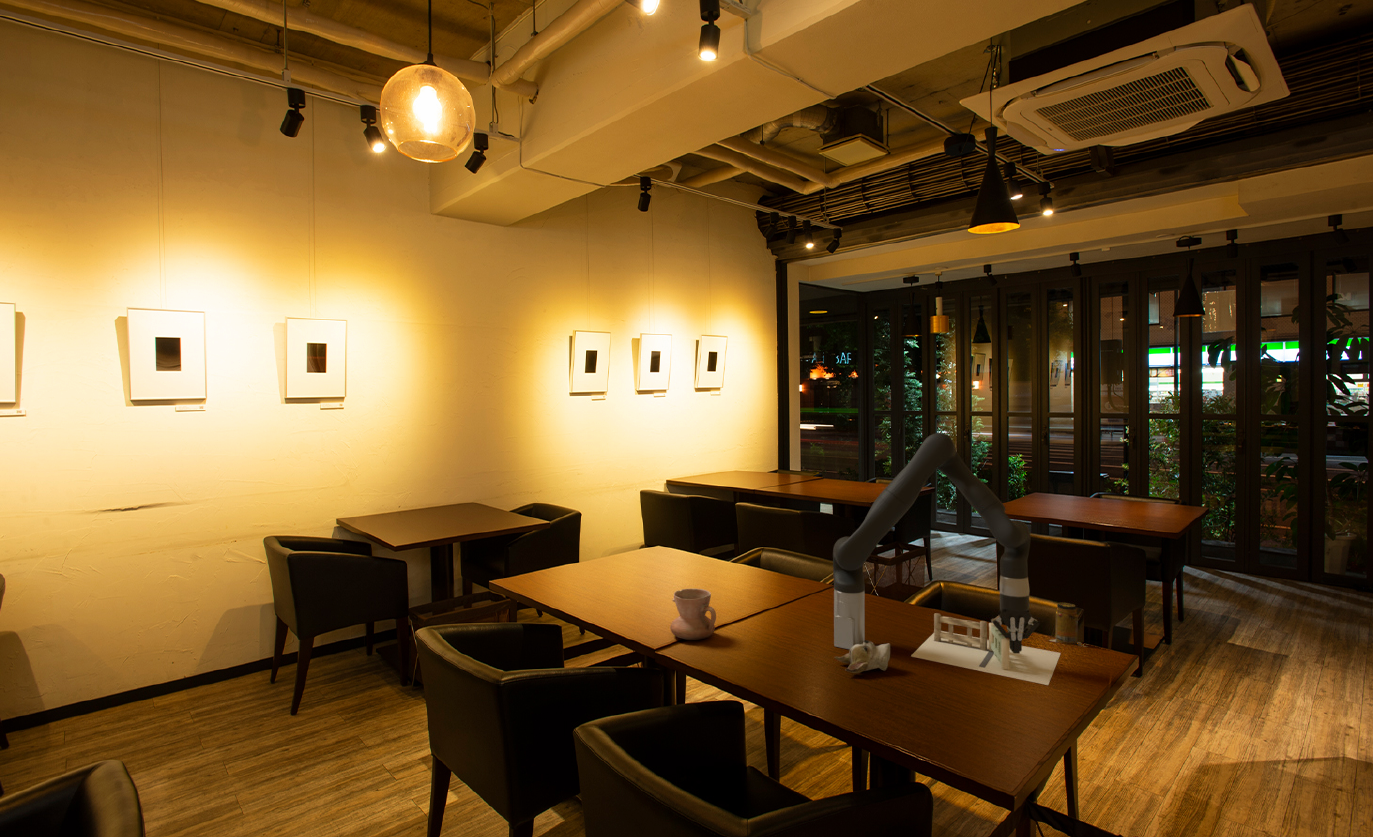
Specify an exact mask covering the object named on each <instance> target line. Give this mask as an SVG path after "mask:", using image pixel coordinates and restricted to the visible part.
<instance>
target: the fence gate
mask: <svg viewBox="0 0 1373 837" xmlns="http://www.w3.org/2000/svg"><path fill="white" fill-rule="evenodd" d="M988 640H989V651H993V652H994V655H995V656H997V659H998V660H999V661H1001V665H1002V669H1006V670H1008V669H1009V638H1005V637H1004V636H1003V635H1002V634H1001V632H1000V631H999V630H998V629H997V628H996V626H995V625H994V624H993V623H992V622H989V623H988Z"/></svg>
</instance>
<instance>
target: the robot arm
mask: <svg viewBox="0 0 1373 837" xmlns="http://www.w3.org/2000/svg"><path fill="white" fill-rule="evenodd" d="M937 470H939V471H940V472H941V473H943V474H944V475H945V476H946V477H947V478H948V479H949V480H950V481H951V482H952V484H954V485H955V487H956V488H957V489H958V491H959V492H960V493H961V494H962V495H963V497H964V498H965V500H967V502H968V503H969V504H970V505H971V507H972V508H973V509H974V510H975V511H976V512H977V513H978V515H979V516H980V518H982V520H983V521H984V522H985V524H986V526H987V528H988V530H989V531H990V533H991V535H992V536H993V537H994V539H995V540H996V541H997V542H998V544H1000V545H1001V546H1003V547H1004V551H1003V554H1002V555H1001V557H1000V559H999V560H1000V561H999V564H1000V565H999V566H1000V567H999V568H1000V570H999V572H1000V576H999V611H998V612H997V613H998V616H996V617H995V618H994V617H993V618H990V621H991V622H990V623H993V624H994V625H995V626H996V628H997V629H998V630H999V632H1001V634H1002V635H1003V636H1004V637H1005V638H1006V639H1009V645H1010V650H1011V651H1012V652H1013V653H1017V654H1019V653H1020V651H1021V650H1022V646H1023V645H1022V642H1023V641H1022V640H1025V639H1027V640H1028V639H1029V638H1030V636H1032V634H1033V633H1034V632H1035V631H1036V629H1037V628H1038V627H1039V626H1040V622H1039V621H1038V619H1035V618H1033V617H1032V614H1031V612H1030V592H1031V591H1030V584H1029V572H1028V569H1029V568H1028V558H1029V553H1030V548H1031V532H1030V528H1029V527H1028V525H1027V524H1026V523H1024V522H1023V521H1021V520H1011V519H1010V518H1009V516H1008V515H1007V513H1006V506H1005V504H1004V503H1003V502H1002V501H1001V500H1000V499H999V498H998V496H997V495H996V494H995V493H994V492H993V491H992V490H991V489H990V488H989V487H988V485H986V484H985V483H984V482H983V481H982V480H981V479H980V478H978V477H977V476H976V475H975V474H974V473H973V472H972V470H970V469H969V467H968V466H967V465H966V464H965V462H964V461H963V459H962V458H961V456H960V454H959V453H958V451H957V448H956V446H955V443H954V441H953V439H952V438H951V437H950V436H949V435H948V434H946V433H943V432H935V433H932V434H930V435H929V436H927V437H926V438H925V439H924V440H923V442H922V443H921V444H920V447H919V448H918V449H917V450H916V452H915V454H914V455H913V456H912V458H911V459H910V461H909V462H908V463H907V464H906V466H905V467H904V468H903V469H902V470H900V471H899V473H898V474H896V476H895V477H894V478H893V479H892V480H891V482H890V483H889V484H888V485H887V486H886V487H885V488H884V489H883V490H882V492H880V494H879V495H878V496H877V498H876V499H875V500H874V501H873V503H872V505H871V507H870V509H869V511H868V512H867V514H866V516H865V519H864V520H863V522H862V523H861V524H860V526H858V528H857V529H856V530H855V531H854V532H853V533H852V534H851V535H850V536H843V537H840V538H839V539H837V541H836V542H835V543H834V545H833V550H832V570H833V572H832V574H833V590H834V591H833V628H834V629H833V638H834V639H833V645H834V647H837V648H841V649H846V650H850V649H851V648H852V647H853V646H854V645H855V644H863V642H864V640H865V580H864V564H865V563H866V561H867V560H868V558H869V557H870V555H871V554H872V552H873V551H874V550H875V548H876V547H877V545H878V544H879V542H880V541H881V540H882V539H883V538H884V537H885V536H886V535H887V534H888V533H889V532H890V530H892V529H893V528H894V526H895V525H896V524H897V523H898V522H899V521H900V520H901V519H902V518H903V516H904V515H906V513H907V512H908V511H909V510H910V508H911V507H912V506H913V504H914V503H915V501H916V500H917V498H918V496H919V494H920V493H921V491H922V489H923V487H924V486H925V483H926V482H927V480H928V479H929V478H930V477H931V476H932V474H934V473H935V471H937ZM1003 623H1004V624H1005V626H1006V629H1005V628H1004V627H1003V626H1002V624H1003ZM1006 630H1007V631H1006Z"/></svg>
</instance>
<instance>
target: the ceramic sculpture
mask: <svg viewBox="0 0 1373 837" xmlns="http://www.w3.org/2000/svg"><path fill="white" fill-rule="evenodd" d="M848 651H849V652H848V653H846V654H844V655H841V656H834V659H835V660H837V661H838V662H841V663H843V664H845V665H848V667H847V668H845V669H844V671H845V672H848V673H851V674H852V673H853V674H860V673H862V672H867V671H871V670H874V669H880V670H882V671H884V672H885V671H886V670H887V669H888V665H889V664H888V663H889V661H890V658H891V643H889V642H888V643H883V644H879V645H876V644H874V642H872V641H871V640H866V639H864V642H863V644H855V645H854V646H853V647H852V648H851V649H849V650H848Z"/></svg>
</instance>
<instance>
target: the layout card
mask: <svg viewBox="0 0 1373 837" xmlns="http://www.w3.org/2000/svg"><path fill="white" fill-rule="evenodd" d="M941 632H945V633H948V631H943V630H941ZM953 634H955V635H961V636H966V637H967V635H964V634H958V633H954V632H953ZM972 638H977V639H980V637H976V636H972ZM1060 656H1061V652H1057V651H1052V650H1051V651H1050V650H1048V649H1041V648H1035V647H1031V646H1024V645H1022V650H1021V651H1020V653H1019V654H1017V653H1013V652H1012V651H1011V650H1010V645H1009V669H1008V670H1006V669H1002V665H1001V661H999V660H998V659H997V656H995V655H994V652H993V651H989V639H987V650H986V651H983V650H980V645H974V644H972V647H967V643H964V642H959V641H953V644H950V643H948V639H943V638H941V641H940V642H936V641H934V632H933V633H932V634H931V635H930V636H929V637H927V639H926V640H925V641H924V642H923V643H922V644H921V645H920V646H919V647H918V648H917V649H916V650H915V651H914V652H913V653H912V654H911V656H910V657H912V658H918V659H922V660H926V661H931V662H936V663H941V664H945V665H950V666H954V667H960V668H963V669H964V668H965V669H969V670H974V671H979V672H984V673H987V674H992V675H999V676H1002V677H1007V678H1012V679H1017V680H1021V681H1026V682H1030V683H1036V684H1041V685H1045V686H1049V684H1050V681H1051V679H1052V677H1053V674H1054V671H1055V669H1056V666H1057V664H1058V662H1059V659H1060Z"/></svg>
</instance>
